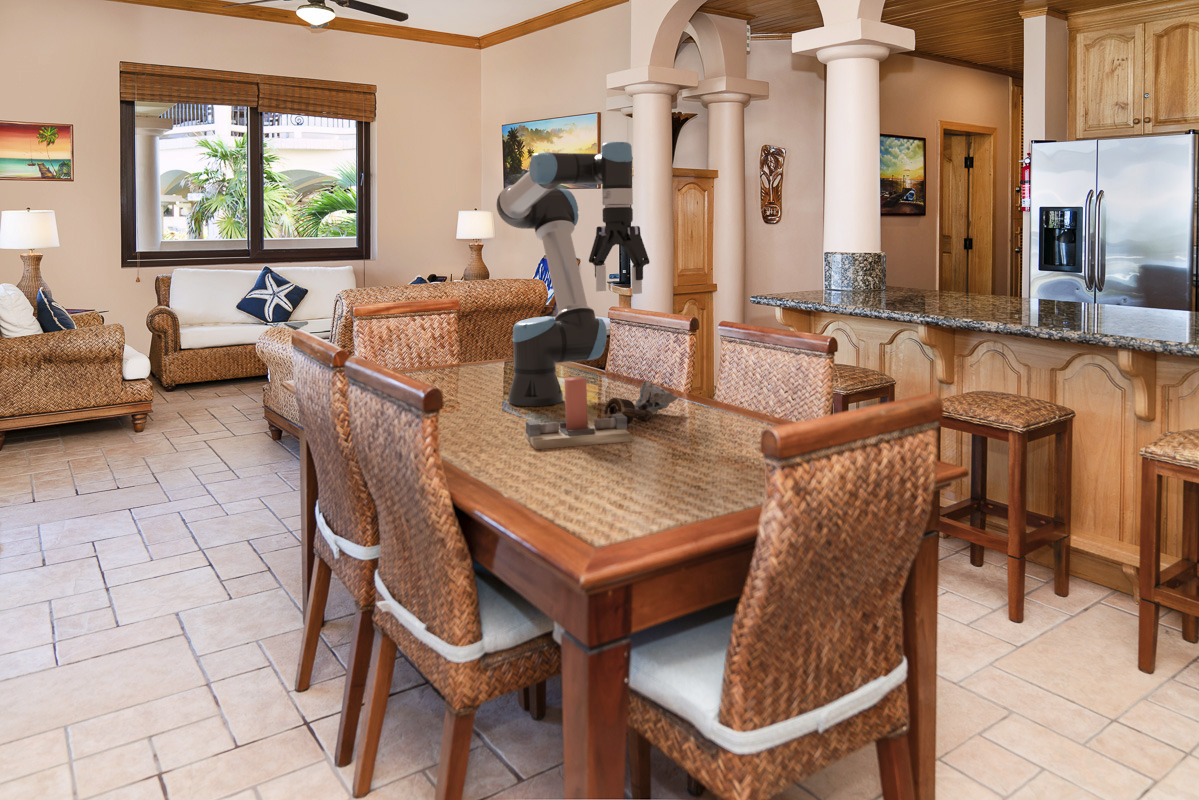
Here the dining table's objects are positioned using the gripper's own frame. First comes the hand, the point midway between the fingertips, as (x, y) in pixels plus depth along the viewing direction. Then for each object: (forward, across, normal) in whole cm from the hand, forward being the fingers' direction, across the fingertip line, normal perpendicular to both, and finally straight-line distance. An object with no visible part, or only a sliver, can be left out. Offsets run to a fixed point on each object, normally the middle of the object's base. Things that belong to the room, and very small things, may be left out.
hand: (618, 292), depth 228 cm
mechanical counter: (+32, +10, -6) cm, 34 cm away
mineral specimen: (+31, +6, +6) cm, 32 cm away
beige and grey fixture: (+32, +13, -25) cm, 42 cm away
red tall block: (+29, +13, -25) cm, 41 cm away
